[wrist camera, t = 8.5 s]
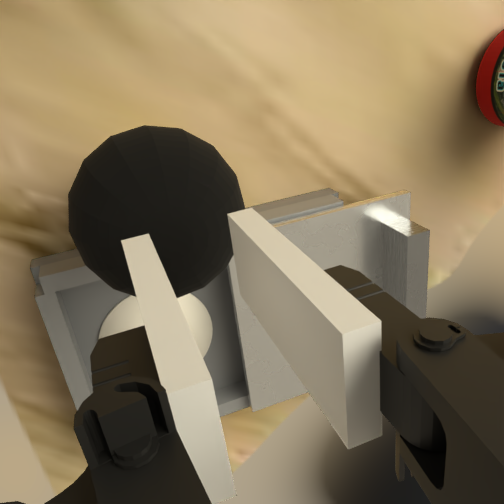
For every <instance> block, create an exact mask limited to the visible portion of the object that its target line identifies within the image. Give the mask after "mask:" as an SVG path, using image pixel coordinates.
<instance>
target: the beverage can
mask: <svg viewBox="0 0 504 504" xmlns="http://www.w3.org/2000/svg"><path fill="white" fill-rule="evenodd" d="M476 95H477V101H478V104H479V107H480V110H481V112H482V113H483V115H484V116H485V117H486V118H487V119H488V120H489V121H490V122H492V123H494V124H496V125H499V126H504V30H503V31H501V32H500V33H499V34H498V35H497V36H496V37H495V39H494V40H493V41H492V42H491V44H490V45H489V47H488V48H487V50H486V52H485V54H484V56H483V58H482V61H481V63H480V66H479V70H478V74H477V81H476Z"/></svg>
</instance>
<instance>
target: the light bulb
mask: <svg viewBox="0 0 504 504" xmlns="http://www.w3.org/2000/svg"><path fill="white" fill-rule="evenodd" d="M68 201H69V232H70V234H71V236H72V238H73V241H74V243H75V245H76V247H77V249H78V251H79V253H80V255H81V258H82V260H83V262H84V264H85V265H86V266H87V267H88V268H89V269H90V270H91V271H92V272H94V273H95V274H96V275H97V276H98V277H99V278H101V279H102V280H103V281H104V282H105V283H106V284H107V285H109V286H110V287H111V288H112V289H114V290H117V291H120V292H123V293H126V294H129V295H132V296H135V297H136V293H135V289H134V286H133V282H132V279H131V275H130V271H129V268H128V264H127V260H126V257H125V253H124V250H123V246H122V242H121V240H125V239H129V238H133V237H137V236H141V235H145V234H149V236H150V238H151V240H152V242H153V245H154V247H155V249H156V252H157V254H158V256H159V259H160V261H161V263H162V265H163V268H164V270H165V272H166V275H167V277H168V279H169V281H170V284H171V286H172V288H173V291H174V293H175V295H176V298H179V297H182V296H184V295H187V294H189V293H192V292H194V291H197V290H199V289H202V288H204V287H205V286H206V285H208V284H209V283H210V282H211V281H212V280H213V279H214V278H216V277H217V276H218V275H219V274H220V273H221V272H222V271H224V270H225V269H226V268H227V266H228V264H229V262H230V260H231V259H232V257H233V255H234V253H233V247H232V240H231V234H230V228H229V222H228V216H227V214H229V213H233V212H237V211H241V210H245V206H244V202H243V198H242V195H241V191H240V187H239V183H238V180H237V176H236V174H235V173H234V171H233V170H232V169H231V168H230V166H229V165H228V164H227V163H226V161H225V160H224V159H223V158H222V156H221V155H220V154H219V152H218V151H217V150H216V149H215V147H214V146H212V145H211V144H209V143H207V142H205V141H203V140H201V139H200V138H198V137H196V136H194V135H192V134H190V133H188V132H186V131H184V130H183V129H179V128H169V127H157V126H145V125H144V126H141V127H138V128H135V129H132V130H129V131H126V132H122V133H119V134H116V135H113V136H110V137H109V138H108V139H107V140H106V141H105V142H103V143H102V144H101V145H100V146H99V147H98V148H97V149H96V150H94V151H93V152H92V153H91V154H90V155H89V156H88V157H87V158H85V159H84V161H83V163H82V165H81V167H80V169H79V172H78V174H77V176H76V178H75V181H74V183H73V185H72V187H71V190H70V192H69V194H68Z"/></svg>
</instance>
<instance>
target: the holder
mask: <svg viewBox="0 0 504 504" xmlns="http://www.w3.org/2000/svg"><path fill="white" fill-rule="evenodd" d="M340 206H343V201H342V200H340V199H339V198H338V192H336V191H334V190H332V189H330V188H327V189H323V190H319V191H314V192H310V193H306V194H302V195H298V196H294V197H289V198H285V199H281V200H277V201H273V202H269V203H265V204H260V205H256V206H252V207H248V208H245V209H249V208H253V209H254V210H255V211H256V212H257V213H258V214H260V215H261V216H262V217H263V218H264V219H265V220H266V221H268V222H269V223H270V224H273V223H277V222H281V221H284V220H288V219H292V218H296V217H300V216H304V215H308V214H312V213H316V212H320V211H324V210H328V209H332V208H336V207H340ZM30 269H31V272H32V275H33V277H34V280H35V283H36V290H35V300H36V302H37V305H38V308H39V310H40V313H41V316H42V318H43V321H44V324H45V326H46V329H47V332H48V335H49V337H50V340H51V343H52V345H53V348H54V351H55V353H56V356H57V359H58V361H59V364H60V367H61V369H62V372H63V375H64V377H65V380H66V383H67V385H68V388H69V391H70V393H71V396H72V399H73V401H74V404H75V407H76V409H77V411H78V409H79V407H80V406H81V404H82V402H83V401H84V400H85V399H86V398H87V397H89V396H90V395H91V394H92V393H93V389H92V388H93V386H92V372H91V362H90V355H91V353H92V351H93V349H94V347H95V345H96V343H97V341H98V339H100V338H103V337H107V336H110V335H113V334H117V333H120V332H123V331H127V330H130V329H133V328H137V327H140V326H143V325H144V322H143V318H142V315H141V311H140V308H139V304H138V300H137V297H135V296H132V295H129V294H126V293H123V292H120V291H117V290H114V289H112V288H111V287H110V286H109V285H107V284H106V283H105V282H104V281H103V280H102V279H101V278H99V277H98V276H97V275H96V274H95V273H94V272H92V271H91V270H90V269H89V268H88V267H87V266H86V265H85V264H84V262H83V260H82V258H81V255H80V253H79V251H78V249H74V250H70V251H66V252H61V253H57V254H53V255H49V256H45V257H41V258H37V259H32V261H31V267H30ZM177 300H178V302H179V304H180V307H181V309H182V311H183V314H184V316H185V318H186V320H187V323H188V325H189V327H190V330H191V332H192V334H193V337H194V339H195V341H196V343H197V346H198V348H199V350H200V353H201V355H202V357H203V360H204V362H205V364H206V366H207V369H208V371H209V373H210V376H211V378H212V382H213V386H214V391H215V396H216V401H217V405H218V410H219V415H220V417H221V416H224V415H227V414H230V413H233V412H235V411H238V410H241V409H244V408H247V407H249V406H250V405H249V399H248V393H247V387H246V381H245V375H244V368H243V362H242V356H241V350H240V344H239V338H238V332H237V325H236V319H235V313H234V307H233V301H232V295H231V289H230V283H229V276H228V270H227V268H226V269H225V270H224V271H222V272H221V273H220V274H219V275H218V276H217V277H216V278H214V279H213V280H212V281H211V282H210V283H209V284H208V285H206V286H205V287H204V288H202V289H199V290H197V291H194V292H192V293H189V294H187V295H184V296H182V297H179V298H177Z"/></svg>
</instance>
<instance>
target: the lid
mask: <svg viewBox="0 0 504 504" xmlns="http://www.w3.org/2000/svg"><path fill="white" fill-rule="evenodd" d="M410 195H411V192H408V191H406V190H402V191H399V192H395V193H391V194H387V195H383V196H379V197H375V198H371V199H367V200H363V201H359V202H355V203H351V204H347V205H343V206H340V207H336V208H332V209H328V210H324V211H320V212H316V213H312V214H308V215H304V216H300V217H296V218H292V219H288V220H284V221H281V222H277V223H273V224H271V225H272V226H273V227H274V228H276V229H277V230H278V231H279V232H280V233H281V234H282V235H284V236H285V237H286V238H287V239H288V240H289V241H290V242H292V243H293V244H294V245H295V246H296V247H297V248H299V249H300V250H301V251H302V252H303V253H304V254H305V255H307V256H308V257H309V258H310V259H311V260H312V261H313V262H315V263H316V264H317V265H318V266H319V267H320V268H321V269H323V270H325V269H329V268H332V267H335V266H339V265H342V266H345V267H348V268H351V269H354V270H357V271H360V272H361V273H362V274H363V275H365V276H366V277H367V278H369V279H370V280H371V281H372V283H373V284H374V283H375V284H376V285H378V286H379V287H380V288H382V289H383V292H387V293H388V294H389V295H391V296H392V297H393V298H395V299H396V300H397V301H398V302H400V303H401V304H402V305H404V306H405V307H406V308H408V309H409V310H410V311H411V312H413V313H414V314H415V315H417V316H418V317H419V318H421V319H423V318H426V302H427V281H428V259H429V237H430V230H428V229H426V228H424V227H422V226H420V225H418V224H416V223H414V222H412V221H410ZM227 270H228V276H229V283H230V289H231V295H232V301H233V307H234V313H235V319H236V325H237V332H238V338H239V344H240V350H241V356H242V362H243V368H244V375H245V381H246V387H247V393H248V399H249V405H250V408H251V410H252V412H255V411H258V410H260V409H263V408H266V407H269V406H271V405H274V404H277V403H280V402H282V401H285V400H288V399H291V398H293V397H296V396H299V395H302V394H304V393H307V392H308V391H307V389H306V388H305V387H304V385H303V384H302V382H301V381H300V379H299V378H298V377H297V375H296V374H295V372H294V371H293V369H292V368H291V367H290V365H289V364H288V362H287V361H286V359H285V358H284V357H283V355H282V354H281V352H280V351H279V349H278V348H277V346H276V345H275V344H274V342H273V341H272V339H271V338H270V336H269V335H268V334H267V332H266V331H265V329H264V328H263V326H262V325H261V324H260V322H259V321H258V319H257V318H256V316H255V315H254V314H253V312H252V311H251V309H250V308H249V306H248V305H247V303H246V302H245V301H244V299H243V298H242V296H241V295H240V290H239V284H238V277H237V271H236V265H235V259H234V255H233V257H232V259H231V260H230V262H229V264H228V266H227Z"/></svg>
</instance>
